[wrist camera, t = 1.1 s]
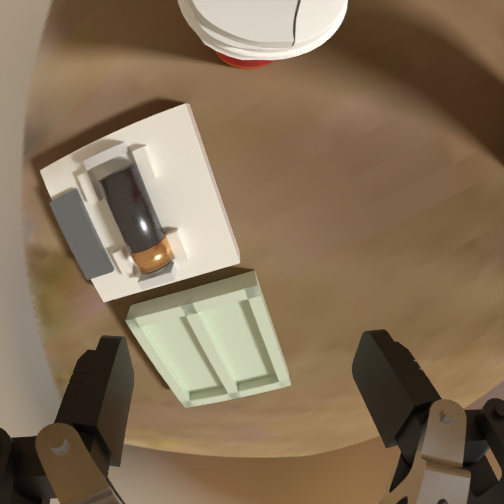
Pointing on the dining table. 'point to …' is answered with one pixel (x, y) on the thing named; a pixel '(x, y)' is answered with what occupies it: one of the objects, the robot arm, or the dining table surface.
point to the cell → (137, 219)
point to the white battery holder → (162, 197)
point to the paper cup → (262, 27)
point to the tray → (212, 341)
